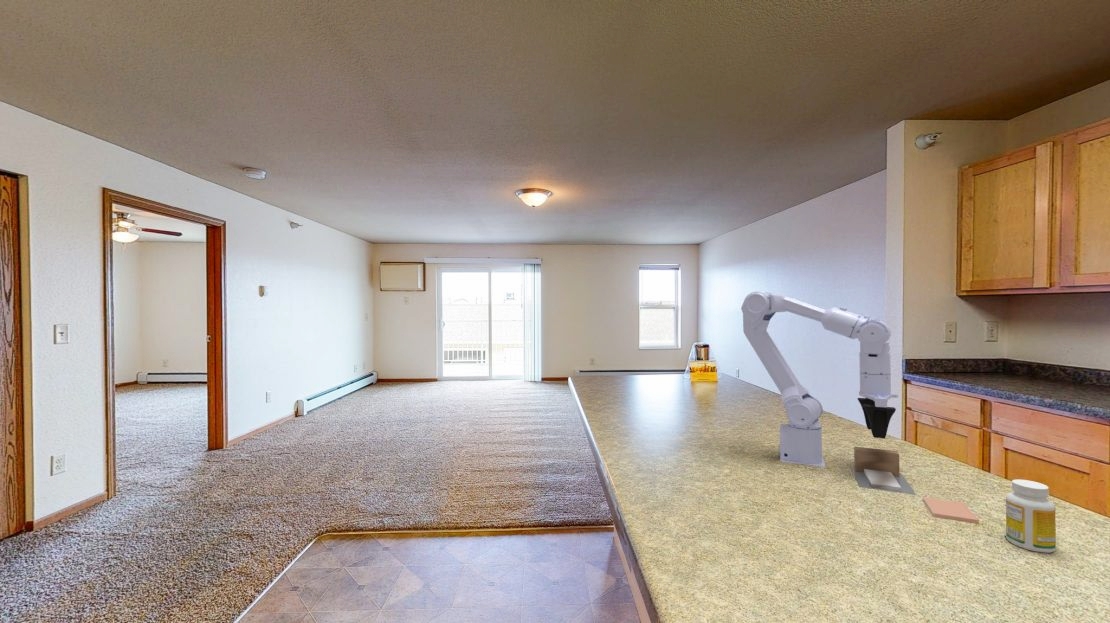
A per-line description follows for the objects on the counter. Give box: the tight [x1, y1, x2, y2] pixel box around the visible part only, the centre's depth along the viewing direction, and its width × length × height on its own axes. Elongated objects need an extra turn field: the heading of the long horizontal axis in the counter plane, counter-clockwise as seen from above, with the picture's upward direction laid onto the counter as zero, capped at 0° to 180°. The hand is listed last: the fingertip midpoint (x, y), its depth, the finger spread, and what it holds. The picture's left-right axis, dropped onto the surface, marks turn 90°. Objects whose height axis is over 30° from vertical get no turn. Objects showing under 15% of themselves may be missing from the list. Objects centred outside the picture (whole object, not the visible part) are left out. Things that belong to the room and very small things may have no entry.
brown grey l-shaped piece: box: [853, 446, 901, 491], centre depth 97 cm, size 8×12×5 cm, turn 153°
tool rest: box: [850, 466, 917, 496], centre depth 97 cm, size 10×14×1 cm
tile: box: [922, 496, 980, 525], centre depth 81 cm, size 6×2×8 cm
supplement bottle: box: [1005, 478, 1057, 554], centre depth 70 cm, size 5×5×10 cm
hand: (876, 433), depth 101 cm, fingers open, 7 cm apart
